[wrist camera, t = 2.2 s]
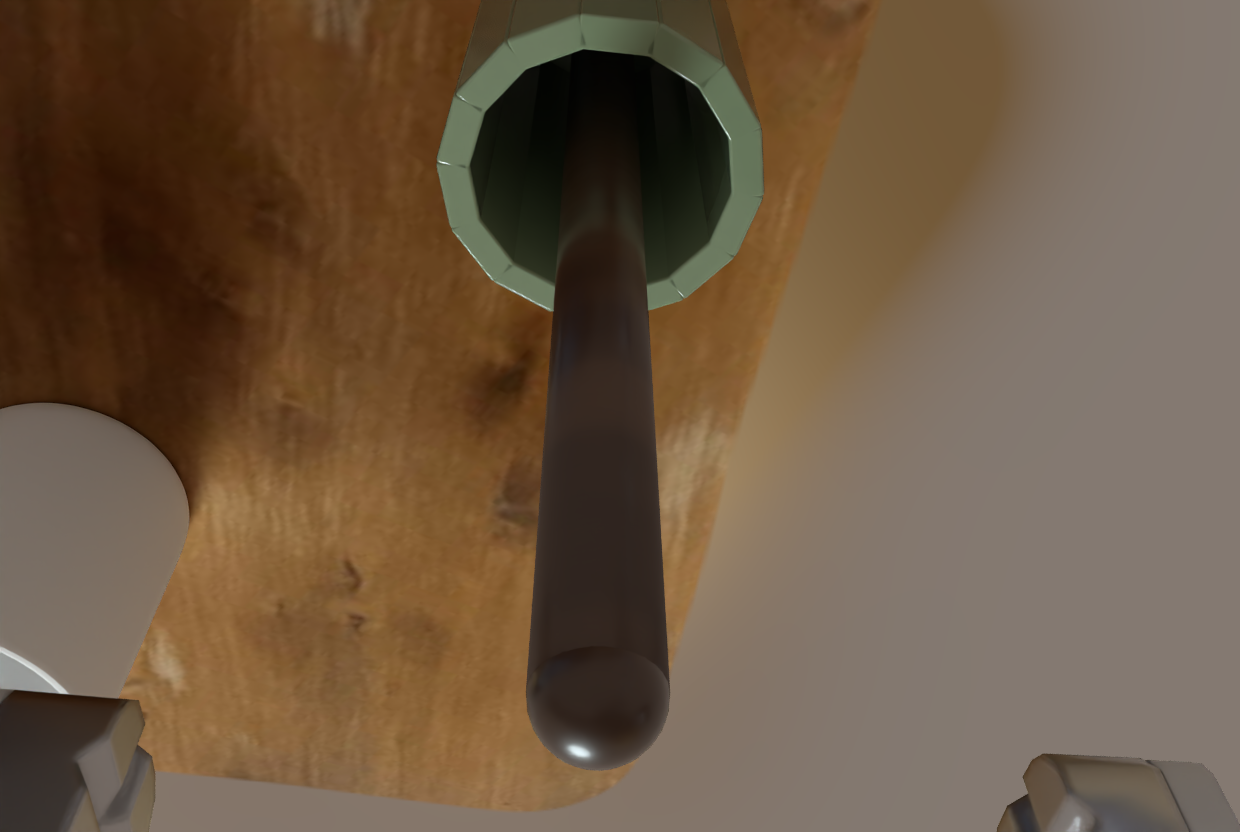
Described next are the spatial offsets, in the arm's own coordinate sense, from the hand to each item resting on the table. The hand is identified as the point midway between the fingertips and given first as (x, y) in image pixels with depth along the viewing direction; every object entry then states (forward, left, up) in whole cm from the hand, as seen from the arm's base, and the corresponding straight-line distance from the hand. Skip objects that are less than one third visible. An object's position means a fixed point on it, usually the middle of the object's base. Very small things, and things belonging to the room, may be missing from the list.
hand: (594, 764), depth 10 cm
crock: (0, 0, -24) cm, 24 cm away
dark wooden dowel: (0, 0, -24) cm, 24 cm away
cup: (+18, -18, -25) cm, 35 cm away
